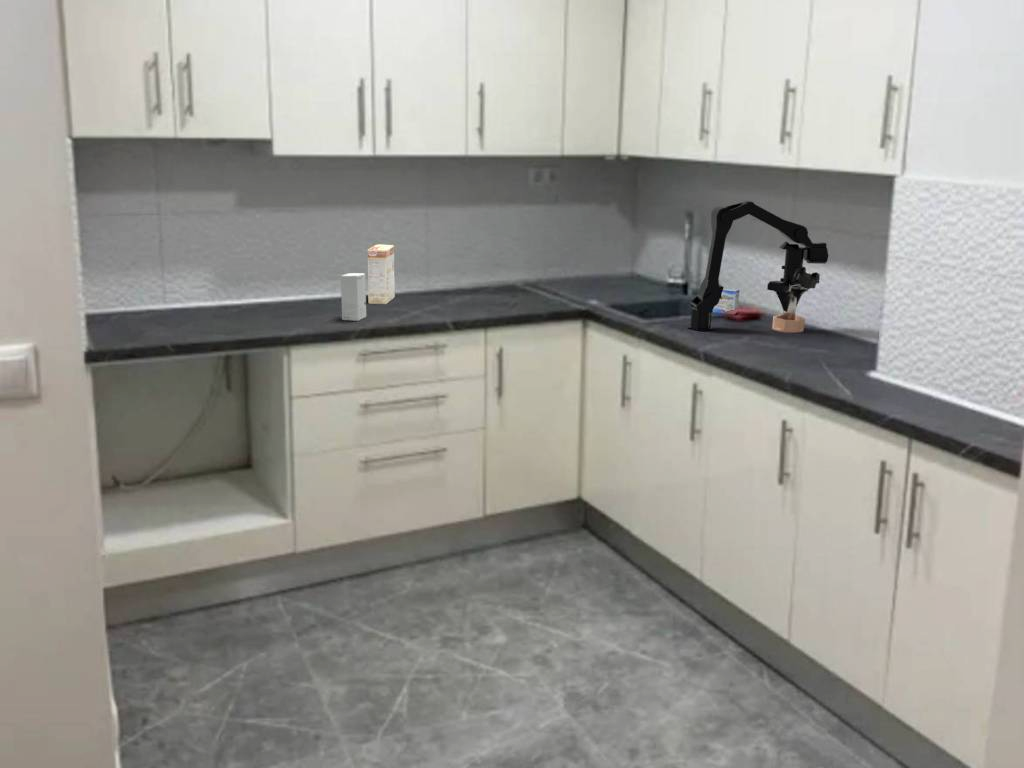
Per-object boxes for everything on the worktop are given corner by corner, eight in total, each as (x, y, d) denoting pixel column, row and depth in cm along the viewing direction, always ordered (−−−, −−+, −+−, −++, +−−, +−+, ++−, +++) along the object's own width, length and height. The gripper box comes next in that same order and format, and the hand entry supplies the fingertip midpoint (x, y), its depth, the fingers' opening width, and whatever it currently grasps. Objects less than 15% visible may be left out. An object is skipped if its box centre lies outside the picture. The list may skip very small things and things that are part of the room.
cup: (791, 333, 336) (792, 321, 335) (766, 328, 343) (767, 316, 342) (809, 330, 342) (810, 318, 341) (784, 325, 349) (785, 313, 348)
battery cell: (789, 321, 339) (792, 295, 337) (779, 319, 342) (782, 294, 340) (797, 319, 341) (799, 294, 339) (787, 318, 344) (789, 292, 342)
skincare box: (358, 321, 339) (357, 276, 335) (340, 320, 340) (339, 275, 337) (366, 316, 347) (366, 272, 343) (349, 315, 348) (349, 271, 345)
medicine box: (712, 313, 369) (714, 289, 367) (716, 311, 373) (718, 287, 371) (734, 315, 366) (736, 291, 363) (737, 313, 369) (739, 289, 367)
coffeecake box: (376, 296, 386) (376, 244, 381) (395, 297, 385) (395, 244, 380) (367, 303, 371) (366, 249, 367) (386, 304, 371) (386, 249, 366)
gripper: (797, 268, 325) (792, 317, 329) (831, 264, 337) (827, 311, 341) (768, 264, 334) (764, 311, 337) (802, 260, 345) (798, 306, 349)
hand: (789, 310), depth 341 cm, fingers closed on battery cell, 4 cm apart
